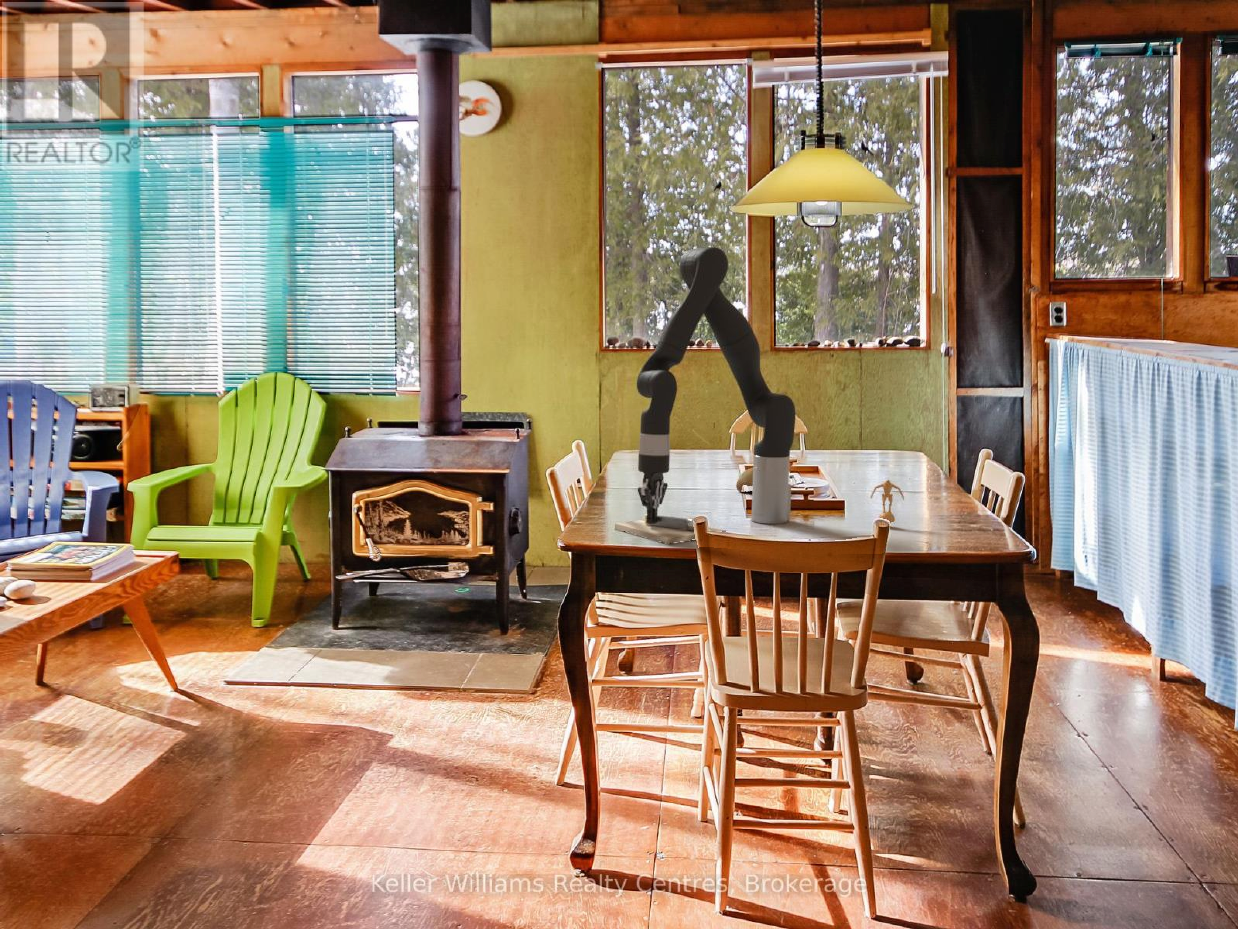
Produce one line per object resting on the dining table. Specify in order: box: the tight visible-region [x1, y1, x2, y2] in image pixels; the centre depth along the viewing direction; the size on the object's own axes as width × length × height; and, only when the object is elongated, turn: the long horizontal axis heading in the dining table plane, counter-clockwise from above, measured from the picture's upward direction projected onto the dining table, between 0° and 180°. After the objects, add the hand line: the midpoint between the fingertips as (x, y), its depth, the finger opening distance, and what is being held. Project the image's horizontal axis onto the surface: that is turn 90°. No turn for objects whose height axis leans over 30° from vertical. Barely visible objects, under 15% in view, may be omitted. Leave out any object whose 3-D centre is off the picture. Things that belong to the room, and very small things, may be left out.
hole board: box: [614, 515, 727, 545], centre depth 272 cm, size 18×21×2 cm
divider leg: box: [644, 513, 695, 530], centre depth 270 cm, size 14×3×2 cm, turn 62°
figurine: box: [870, 479, 905, 523], centre depth 284 cm, size 8×6×12 cm
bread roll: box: [735, 467, 753, 492], centre depth 334 cm, size 10×15×8 cm, turn 93°
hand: (651, 523), depth 270 cm, fingers closed
